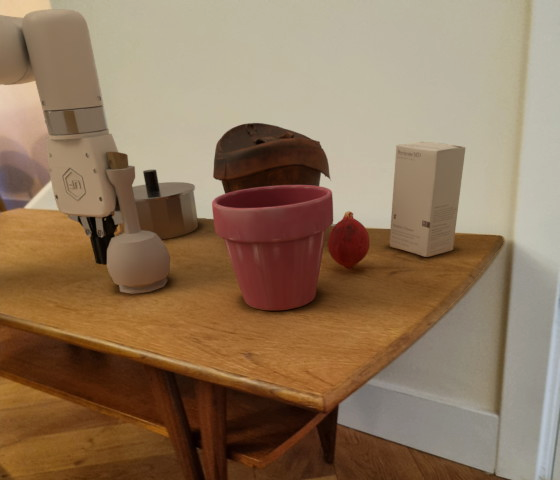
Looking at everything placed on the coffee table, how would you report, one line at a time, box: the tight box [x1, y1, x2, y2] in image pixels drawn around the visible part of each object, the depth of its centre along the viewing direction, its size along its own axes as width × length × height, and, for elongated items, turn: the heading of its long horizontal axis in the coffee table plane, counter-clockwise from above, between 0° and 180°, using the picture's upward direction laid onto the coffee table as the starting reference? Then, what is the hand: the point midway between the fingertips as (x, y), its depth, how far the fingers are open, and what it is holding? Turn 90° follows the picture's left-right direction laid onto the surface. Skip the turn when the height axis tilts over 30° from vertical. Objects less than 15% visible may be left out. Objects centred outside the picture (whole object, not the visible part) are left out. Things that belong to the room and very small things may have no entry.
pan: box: [118, 190, 199, 241], centre depth 105 cm, size 15×20×7 cm
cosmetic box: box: [389, 141, 466, 258], centre depth 80 cm, size 8×6×15 cm
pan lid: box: [132, 169, 196, 202], centre depth 102 cm, size 16×16×5 cm
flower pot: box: [211, 185, 334, 311], centre depth 67 cm, size 14×14×13 cm
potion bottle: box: [106, 151, 171, 295], centre depth 74 cm, size 9×9×18 cm
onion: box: [327, 210, 371, 270], centre depth 76 cm, size 6×6×8 cm
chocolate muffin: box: [212, 122, 332, 194], centre depth 90 cm, size 18×20×18 cm
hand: (108, 261), depth 80 cm, fingers closed
